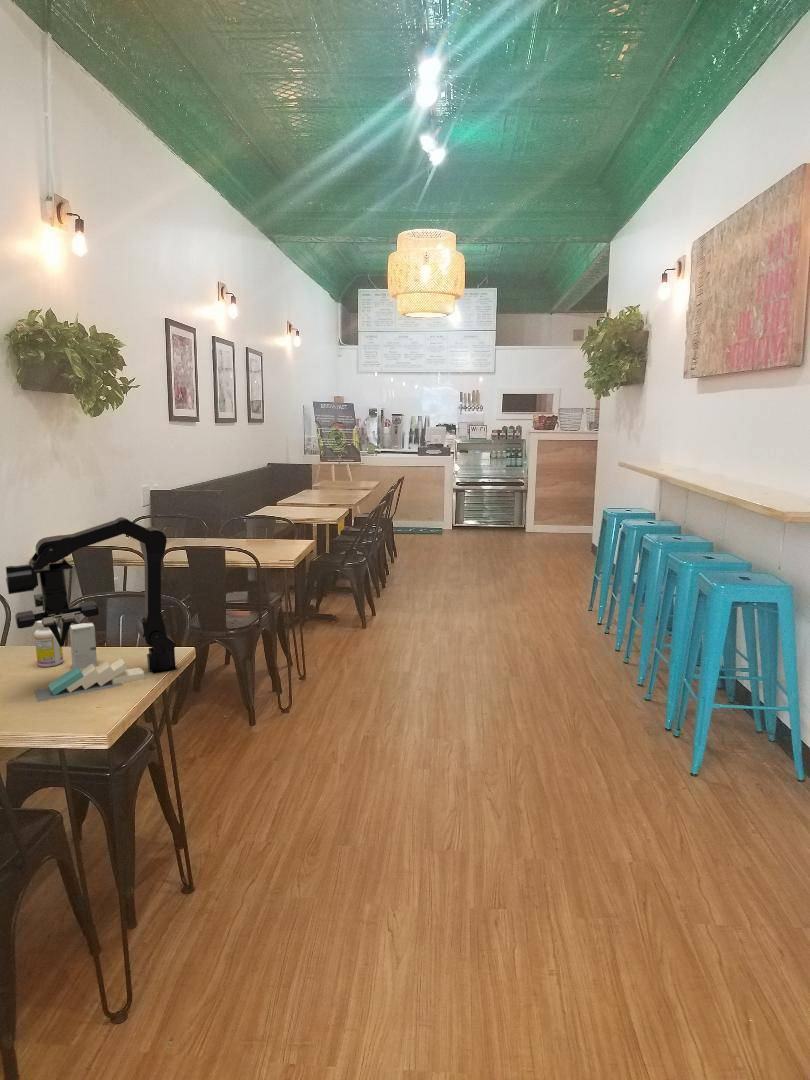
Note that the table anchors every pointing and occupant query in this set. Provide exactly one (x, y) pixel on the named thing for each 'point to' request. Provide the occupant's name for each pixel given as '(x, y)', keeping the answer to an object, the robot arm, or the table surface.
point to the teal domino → (65, 680)
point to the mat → (47, 694)
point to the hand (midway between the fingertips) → (61, 646)
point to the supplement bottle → (47, 647)
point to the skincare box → (83, 645)
